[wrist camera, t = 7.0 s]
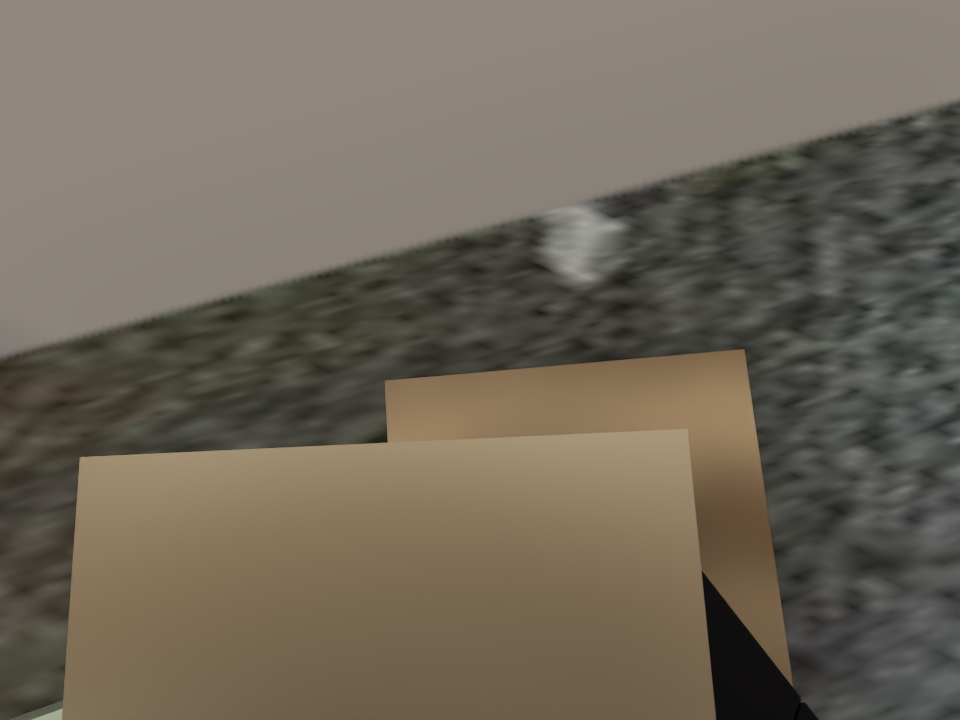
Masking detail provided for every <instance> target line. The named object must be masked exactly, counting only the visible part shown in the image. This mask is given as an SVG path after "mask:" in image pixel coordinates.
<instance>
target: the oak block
mask: <svg viewBox="0 0 960 720" xmlns="http://www.w3.org/2000/svg"><path fill="white" fill-rule="evenodd" d="M385 394H386V415H387V436H388V443H394V442H416V441H437V440H458V439H480V438H501V437H523V436H544V435H565V434H587V433H608V432H630V431H651V430H672V429H688V439H689V449H690V459H691V469H692V479H693V490H694V500H695V510H696V520H697V530H698V540H699V551H700V561H701V570H702V571H703V572H704V574H705V575H706V576H707V578H708V579H709V580H710V581H711V583H712V584H713V585H714V587H715V588H716V589H717V590H718V592H719V593H720V594H721V595H722V597H723V598H724V599H725V601H726V602H727V603H728V604H729V606H730V607H731V608H732V610H733V611H734V612H735V613H736V615H737V616H738V617H739V619H740V620H741V621H742V622H743V624H744V625H745V626H746V628H747V629H748V630H749V631H750V633H751V634H752V635H753V636H754V638H755V639H756V640H757V642H758V643H759V644H760V645H761V647H762V648H763V649H764V651H765V652H766V653H767V654H768V656H769V657H770V658H771V660H772V661H773V662H774V663H775V665H776V666H777V667H778V669H779V670H780V671H781V672H782V674H783V675H784V676H785V677H786V679H787V680H788V681H789V683H790V684H791V685H792V686H793V681H792V674H791V667H790V661H789V654H788V647H787V640H786V633H785V626H784V619H783V612H782V606H781V599H780V592H779V585H778V578H777V571H776V564H775V557H774V551H773V544H772V537H771V530H770V523H769V516H768V509H767V502H766V496H765V489H764V482H763V475H762V468H761V461H760V454H759V447H758V441H757V434H756V427H755V420H754V413H753V406H752V399H751V392H750V386H749V379H748V372H747V365H746V358H745V351H744V349H742V350H730V351H719V352H707V353H696V354H685V355H673V356H662V357H650V358H639V359H628V360H616V361H605V362H594V363H582V364H571V365H559V366H548V367H537V368H525V369H514V370H502V371H491V372H480V373H468V374H457V375H445V376H434V377H423V378H411V379H400V380H389V381H385Z"/></svg>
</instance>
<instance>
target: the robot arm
mask: <svg viewBox="0 0 960 720" xmlns="http://www.w3.org/2000/svg"><path fill="white" fill-rule="evenodd" d="M701 571H702V570H701ZM702 581H703V591H704V601H705V612H706V622H707V632H708V642H709V652H710V663H711V673H712V683H713V693H714V703H715V713H716V720H819V719H818V718H817V717H816V716H815V714H814V713H813V712H812V710H811V709H810V708H809V707H808V705H807V704H806V703H804V702H801V697H800V695H799V694H798V693H797V692H796V690H795V689H794V688H793V686H792V685H791V684H790V683H789V681H788V680H787V679H786V677H785V676H784V675H783V674H782V672H781V671H780V670H779V669H778V667H777V666H776V665H775V663H774V662H773V661H772V660H771V658H770V657H769V656H768V654H767V653H766V652H765V651H764V649H763V648H762V647H761V645H760V644H759V643H758V642H757V640H756V639H755V638H754V636H753V635H752V634H751V633H750V631H749V630H748V629H747V628H746V626H745V625H744V624H743V622H742V621H741V620H740V619H739V617H738V616H737V615H736V613H735V612H734V611H733V610H732V608H731V607H730V606H729V604H728V603H727V602H726V601H725V599H724V598H723V597H722V595H721V594H720V593H719V592H718V590H717V589H716V588H715V587H714V585H713V584H712V583H711V581H710V580H709V579H708V578H707V576H706V575H705V574H704V572H703V571H702ZM800 702H801V703H800Z"/></svg>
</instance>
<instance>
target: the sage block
mask: <svg viewBox="0 0 960 720" xmlns="http://www.w3.org/2000/svg"><path fill="white" fill-rule="evenodd" d="M62 711H63V700H62V701H60V702H57V703H54V704H51V705H48V706H46V707H43V708H40V709H37V710H34V711H32V712H29V713H26V714H23V715H20V716H18V717H15V718H12V719H9V720H62Z"/></svg>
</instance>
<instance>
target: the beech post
mask: <svg viewBox="0 0 960 720" xmlns="http://www.w3.org/2000/svg"><path fill="white" fill-rule="evenodd" d="M62 720H716V713H715V703H714V693H713V683H712V673H711V663H710V652H709V642H708V632H707V622H706V612H705V601H704V591H703V581H702V571H701V561H700V551H699V540H698V530H697V520H696V510H695V500H694V490H693V479H692V469H691V459H690V449H689V439H688V429H672V430H651V431H630V432H608V433H587V434H565V435H544V436H523V437H501V438H480V439H458V440H437V441H416V442H394V443H373V444H352V445H330V446H309V447H287V448H266V449H245V450H223V451H202V452H181V453H159V454H138V455H116V456H95V457H80V465H79V479H78V494H77V508H76V523H75V537H74V552H73V566H72V581H71V595H70V609H69V624H68V638H67V653H66V667H65V682H64V696H63V711H62Z"/></svg>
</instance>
